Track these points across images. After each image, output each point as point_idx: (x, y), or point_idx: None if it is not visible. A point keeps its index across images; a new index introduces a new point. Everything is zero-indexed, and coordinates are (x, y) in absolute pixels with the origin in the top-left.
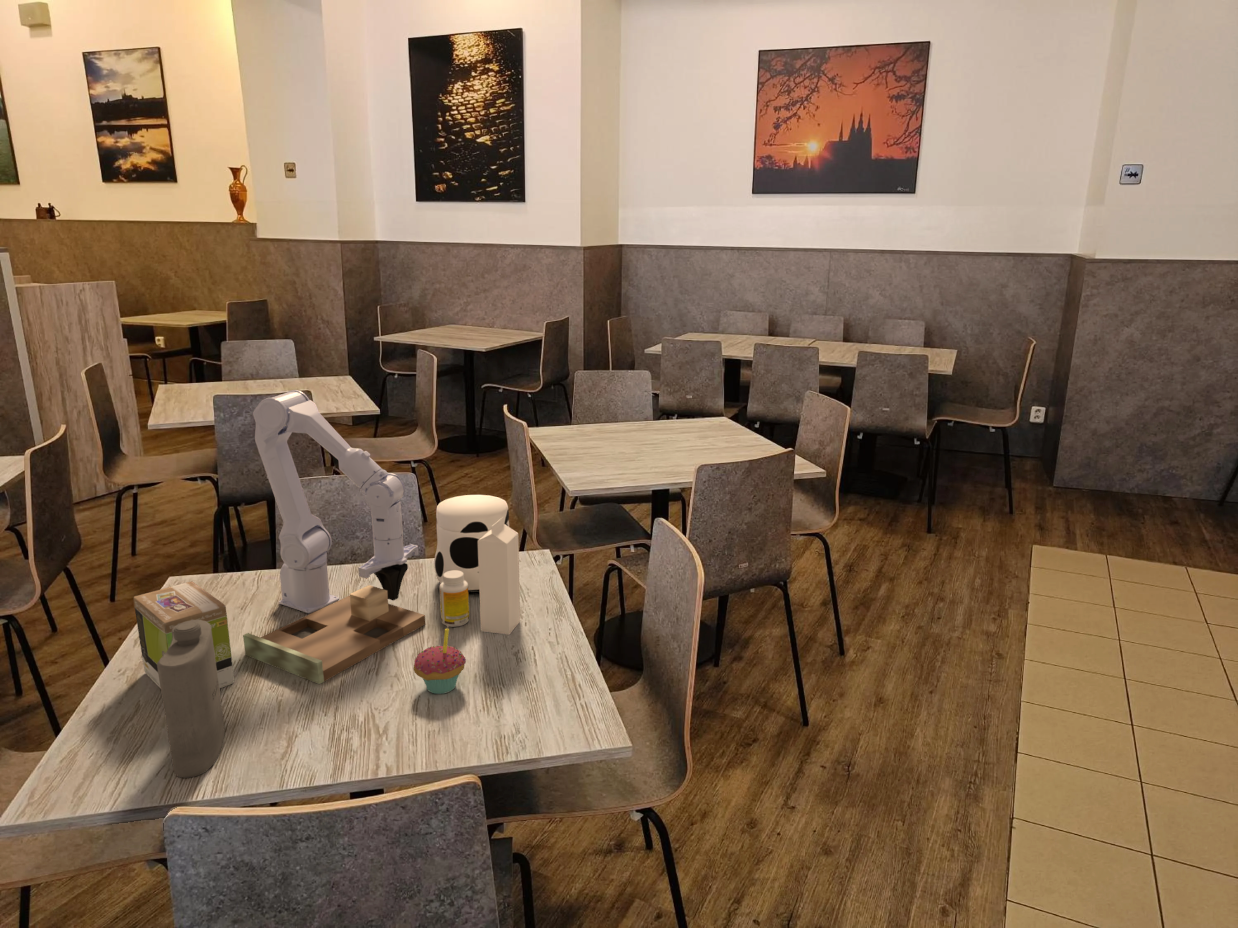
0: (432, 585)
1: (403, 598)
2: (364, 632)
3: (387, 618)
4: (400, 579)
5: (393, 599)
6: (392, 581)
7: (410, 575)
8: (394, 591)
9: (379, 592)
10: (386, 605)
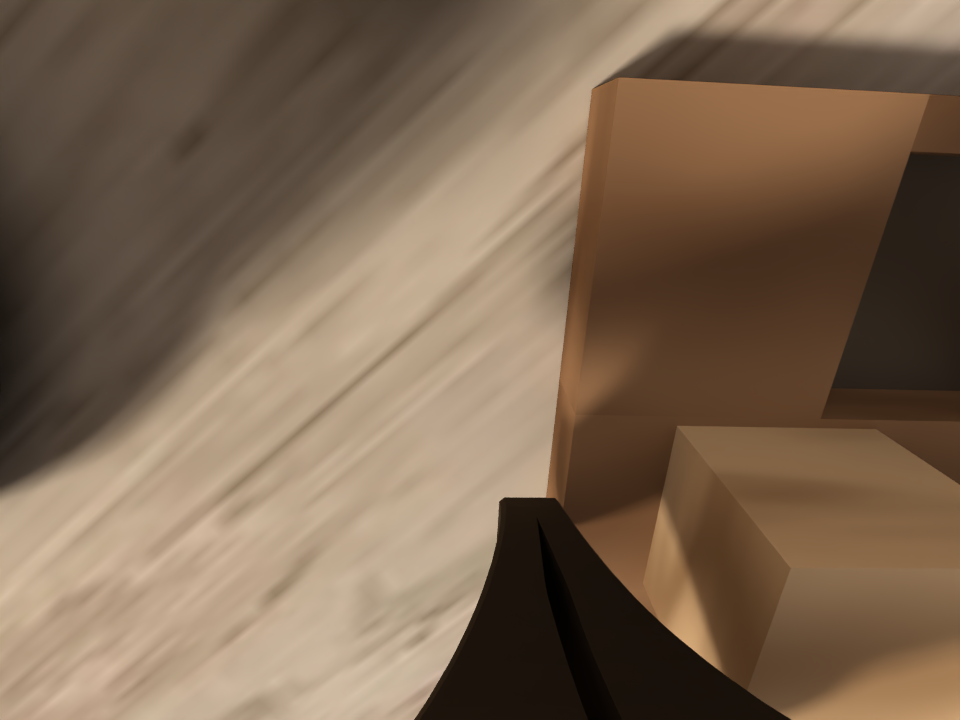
0: (45, 509)
1: (331, 528)
2: (893, 392)
3: (797, 346)
4: (518, 630)
5: (557, 503)
6: (682, 651)
7: (64, 693)
8: (577, 547)
9: (862, 596)
10: (726, 459)
